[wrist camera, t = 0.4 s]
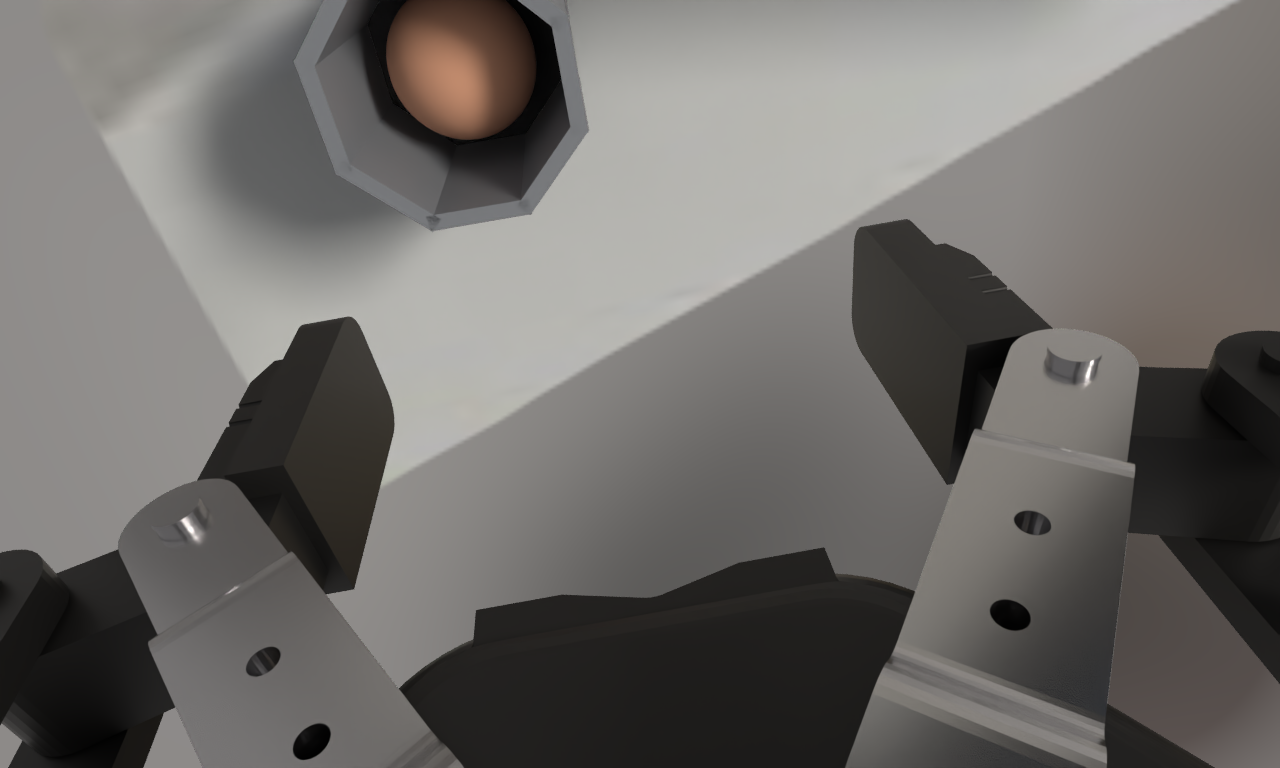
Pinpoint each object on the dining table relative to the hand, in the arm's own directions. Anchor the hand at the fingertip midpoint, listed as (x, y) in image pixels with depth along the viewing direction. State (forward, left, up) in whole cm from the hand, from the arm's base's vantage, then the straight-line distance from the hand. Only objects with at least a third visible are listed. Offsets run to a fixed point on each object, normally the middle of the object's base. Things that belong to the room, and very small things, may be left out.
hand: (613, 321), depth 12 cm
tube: (0, -5, -26) cm, 26 cm away
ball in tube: (0, -5, -23) cm, 23 cm away
